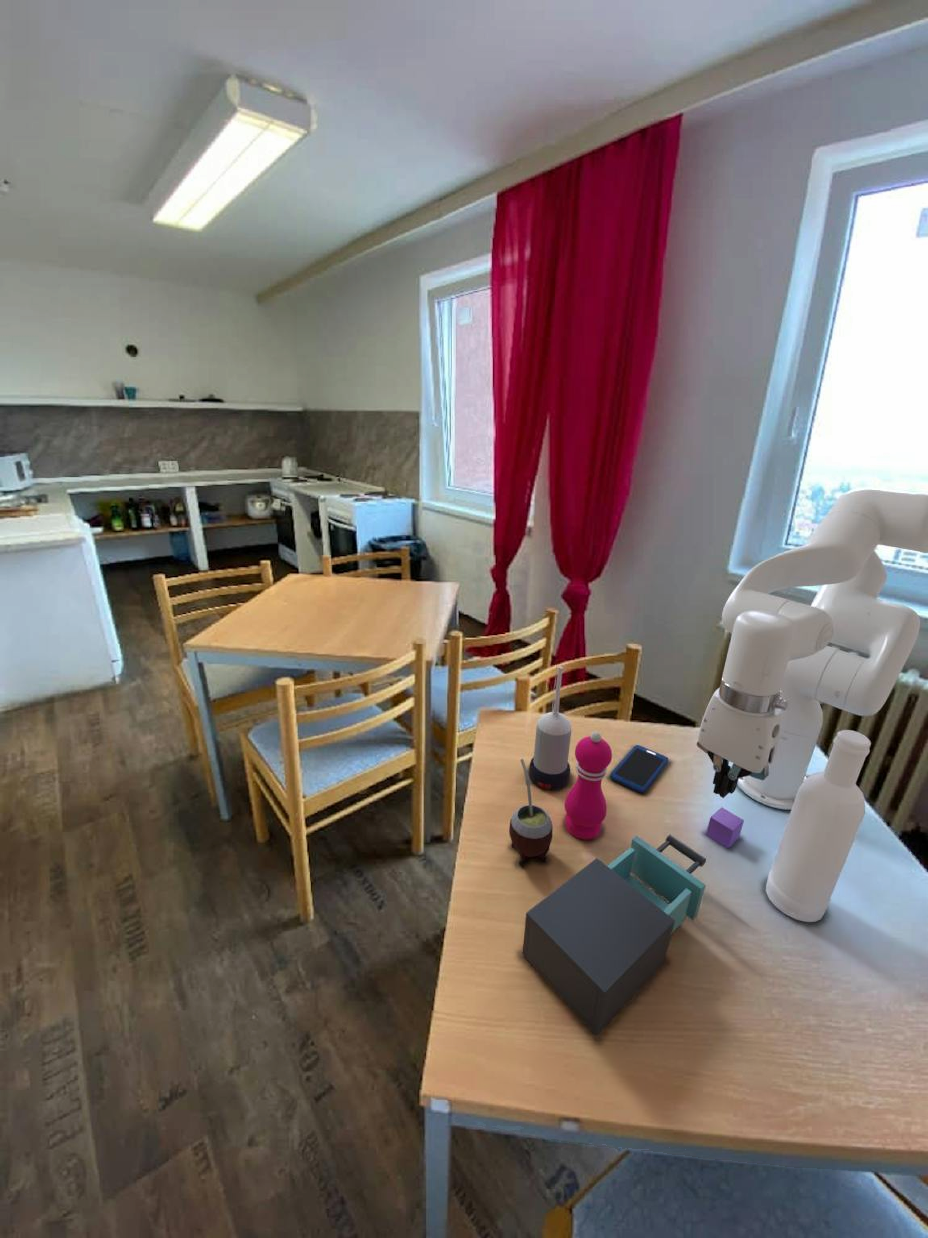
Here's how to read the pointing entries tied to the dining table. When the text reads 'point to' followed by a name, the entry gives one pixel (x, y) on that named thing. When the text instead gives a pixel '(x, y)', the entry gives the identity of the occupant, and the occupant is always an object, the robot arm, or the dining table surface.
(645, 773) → the cell phone
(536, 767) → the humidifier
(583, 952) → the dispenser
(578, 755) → the pepper mill
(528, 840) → the mate gourd
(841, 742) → the bottle
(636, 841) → the drawer
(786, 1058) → the dining table surface
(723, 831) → the block
